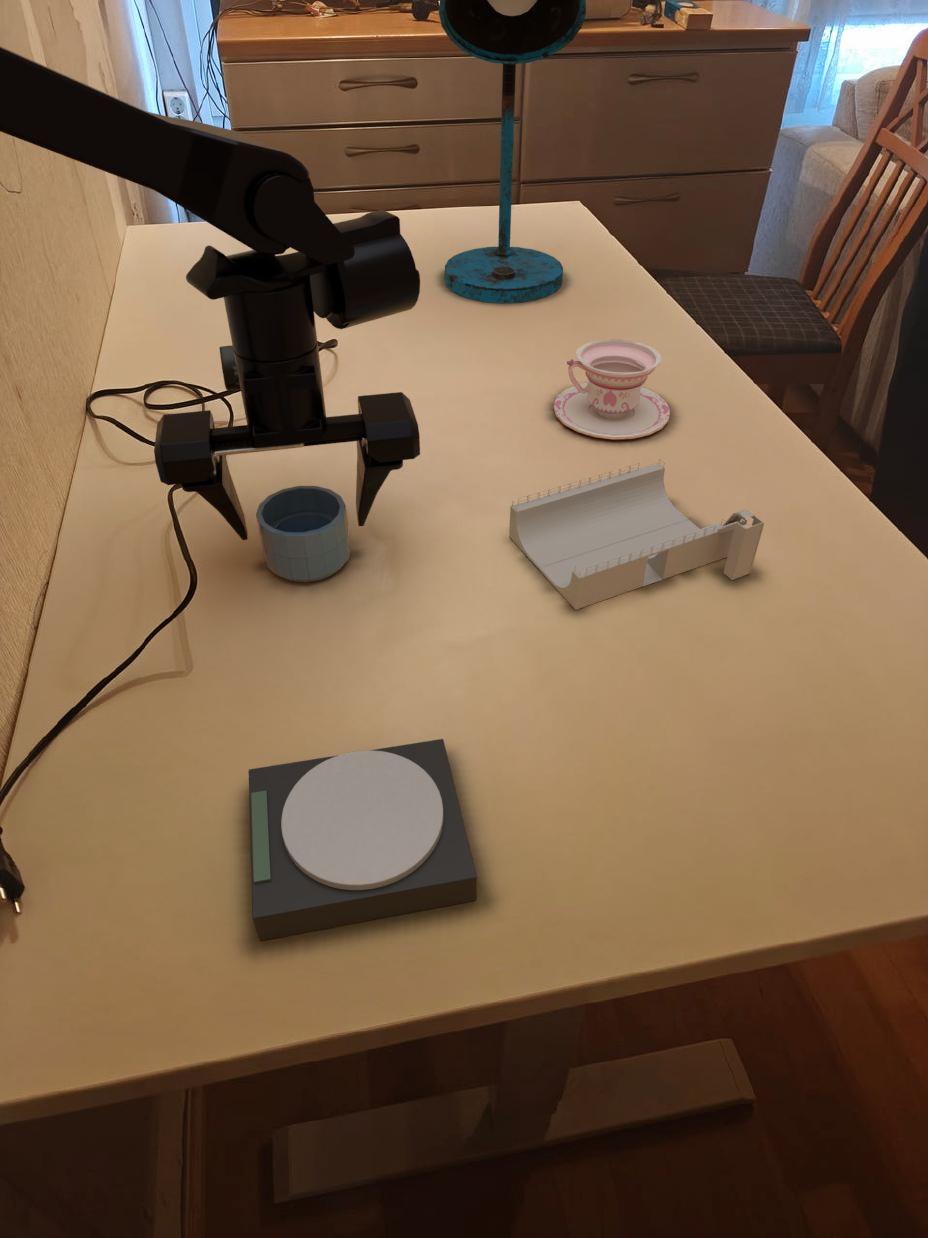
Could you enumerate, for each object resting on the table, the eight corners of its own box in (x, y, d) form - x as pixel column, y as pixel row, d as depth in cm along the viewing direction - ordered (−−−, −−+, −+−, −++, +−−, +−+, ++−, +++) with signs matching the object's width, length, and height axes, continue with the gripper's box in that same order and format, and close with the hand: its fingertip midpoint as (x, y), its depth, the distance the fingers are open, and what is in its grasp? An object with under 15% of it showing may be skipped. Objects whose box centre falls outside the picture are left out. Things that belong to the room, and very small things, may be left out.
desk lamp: (438, 318, 108) (429, -169, 78) (447, 255, 125) (442, -167, 95) (567, 319, 108) (607, -169, 78) (559, 257, 124) (590, -167, 94)
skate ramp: (653, 492, 79) (661, 443, 76) (750, 574, 70) (764, 522, 67) (509, 536, 74) (511, 486, 71) (594, 630, 65) (601, 578, 62)
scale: (259, 941, 47) (250, 912, 45) (254, 793, 54) (246, 762, 52) (476, 900, 49) (477, 871, 47) (443, 762, 56) (443, 731, 54)
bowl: (249, 573, 71) (239, 522, 67) (294, 527, 75) (287, 478, 72) (323, 595, 68) (316, 544, 65) (365, 546, 73) (360, 496, 70)
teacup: (664, 387, 94) (673, 333, 90) (674, 444, 86) (685, 386, 81) (553, 383, 95) (557, 328, 91) (552, 439, 86) (557, 381, 82)
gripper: (394, 289, 67) (403, 465, 77) (142, 309, 64) (187, 488, 74) (417, 351, 59) (424, 538, 69) (130, 376, 56) (182, 568, 66)
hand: (303, 530), depth 70 cm, fingers open, 9 cm apart
